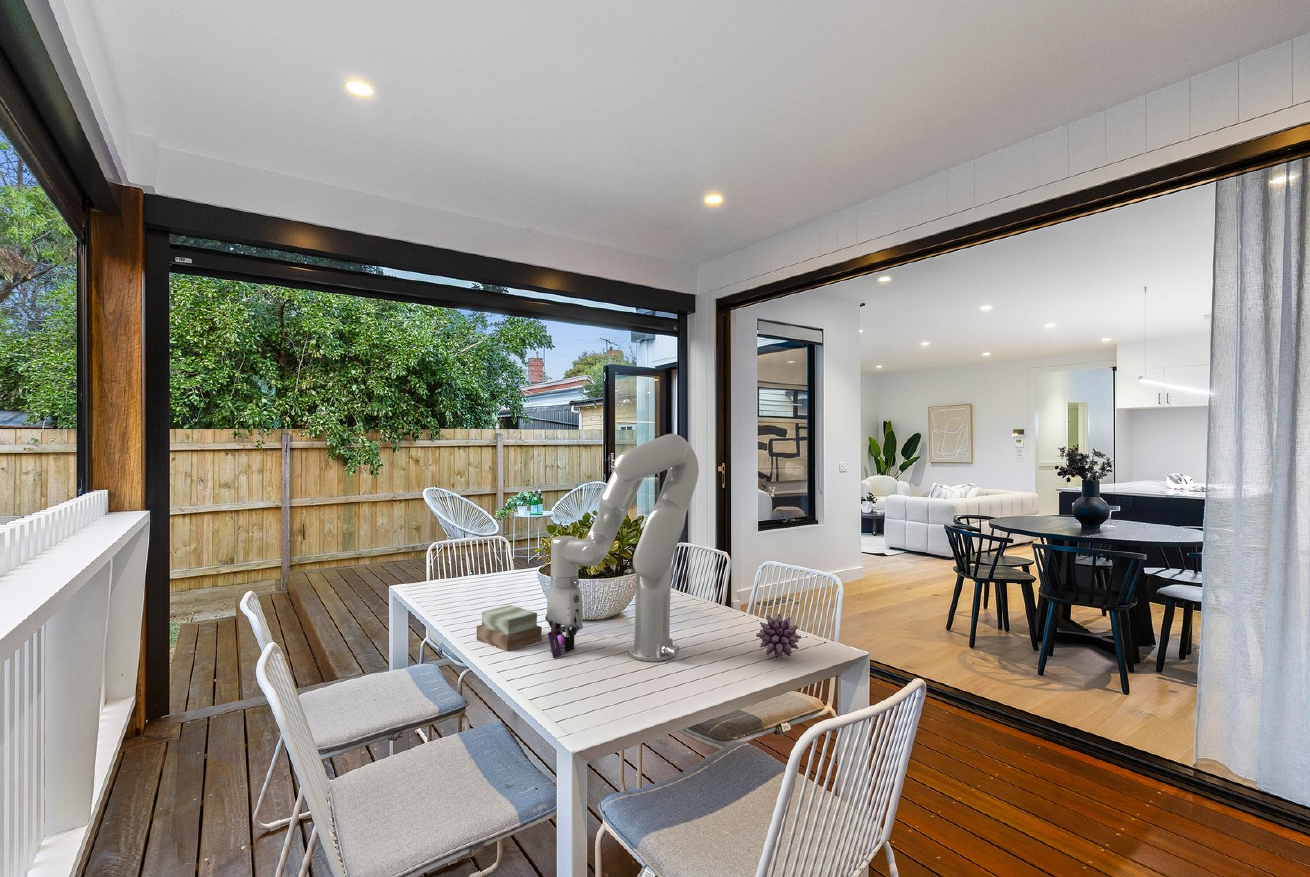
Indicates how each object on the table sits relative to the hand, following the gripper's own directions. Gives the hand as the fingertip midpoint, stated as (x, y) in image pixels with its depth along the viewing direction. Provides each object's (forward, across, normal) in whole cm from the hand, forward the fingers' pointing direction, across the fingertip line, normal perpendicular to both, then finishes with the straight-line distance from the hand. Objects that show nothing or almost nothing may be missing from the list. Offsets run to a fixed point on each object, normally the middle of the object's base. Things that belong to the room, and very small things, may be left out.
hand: (563, 647), depth 173 cm
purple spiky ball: (+1, -47, -35) cm, 58 cm away
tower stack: (0, +17, +5) cm, 18 cm away
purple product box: (+1, 0, +2) cm, 2 cm away
